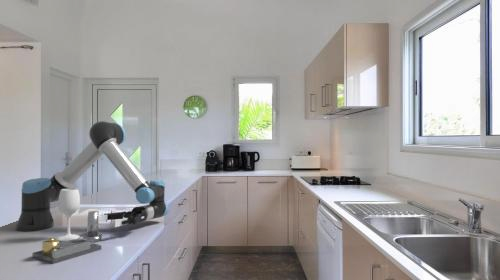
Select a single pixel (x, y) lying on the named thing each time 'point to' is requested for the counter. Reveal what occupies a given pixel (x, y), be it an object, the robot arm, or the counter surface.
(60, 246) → the carrier plate
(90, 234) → the flanged metal post
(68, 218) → the wineglass
